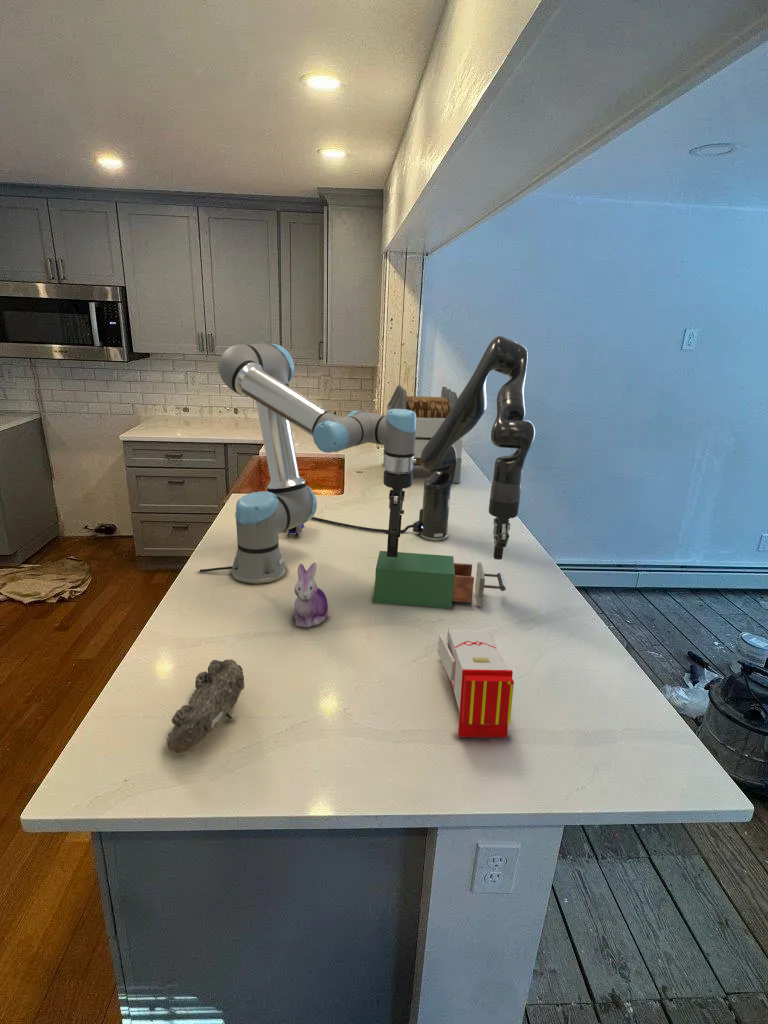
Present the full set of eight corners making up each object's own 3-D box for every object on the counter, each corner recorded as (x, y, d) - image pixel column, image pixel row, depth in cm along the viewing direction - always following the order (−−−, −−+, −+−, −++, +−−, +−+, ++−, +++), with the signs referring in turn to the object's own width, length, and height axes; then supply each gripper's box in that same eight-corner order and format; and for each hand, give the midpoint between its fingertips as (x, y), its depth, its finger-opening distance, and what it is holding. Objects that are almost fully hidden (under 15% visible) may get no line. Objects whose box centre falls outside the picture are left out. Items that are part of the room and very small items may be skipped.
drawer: (499, 590, 161) (503, 564, 158) (504, 608, 151) (507, 580, 148) (410, 583, 162) (412, 557, 159) (409, 600, 152) (410, 573, 150)
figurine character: (302, 543, 191) (306, 522, 205) (301, 523, 188) (306, 503, 202) (282, 542, 191) (288, 522, 205) (281, 522, 188) (287, 503, 201)
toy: (488, 613, 130) (523, 677, 101) (484, 667, 133) (517, 744, 104) (435, 612, 130) (455, 676, 101) (432, 666, 133) (451, 743, 103)
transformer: (382, 463, 289) (386, 382, 275) (445, 464, 293) (451, 384, 279) (390, 482, 257) (394, 392, 243) (460, 483, 261) (468, 394, 247)
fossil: (192, 660, 117) (244, 628, 112) (224, 691, 120) (276, 661, 115) (142, 746, 98) (202, 712, 93) (182, 779, 101) (242, 748, 96)
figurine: (299, 632, 137) (299, 576, 132) (286, 613, 145) (285, 559, 140) (336, 624, 141) (336, 570, 136) (320, 605, 149) (321, 553, 144)
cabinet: (450, 588, 162) (453, 556, 159) (451, 608, 151) (454, 574, 148) (378, 582, 164) (379, 550, 160) (374, 602, 153) (375, 568, 149)
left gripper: (411, 485, 134) (405, 567, 141) (414, 459, 157) (409, 530, 165) (379, 483, 134) (375, 564, 142) (387, 457, 158) (383, 528, 165)
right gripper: (523, 506, 139) (515, 570, 145) (516, 490, 152) (508, 549, 158) (492, 504, 140) (485, 567, 146) (488, 488, 152) (481, 547, 158)
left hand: (393, 546), depth 153 cm, fingers open, 13 cm apart
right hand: (497, 558), depth 152 cm, fingers closed
